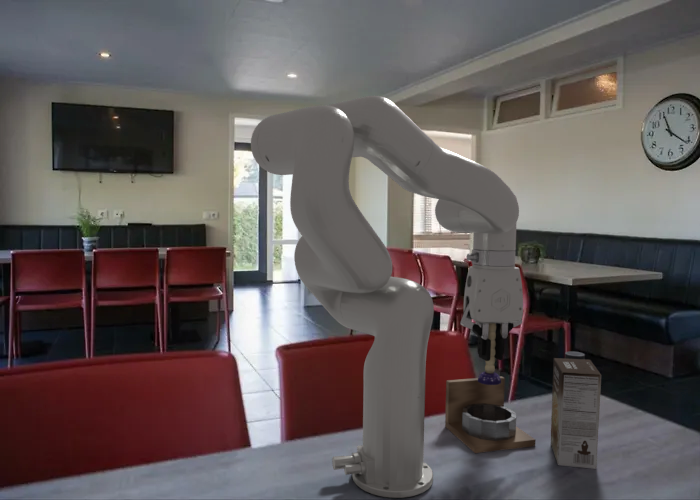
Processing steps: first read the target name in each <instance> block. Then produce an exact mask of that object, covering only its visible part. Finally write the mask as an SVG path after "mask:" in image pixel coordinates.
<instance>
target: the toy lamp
mask: <svg viewBox="0 0 700 500" xmlns="http://www.w3.org/2000/svg"><path fill="white" fill-rule="evenodd" d="M495 330H496V324H495V323H489V331H488V339H490V340H491V355H490V360H489V361H485V360H484V361H485V366H484V371H483V372H481V373H480V374H479V375H478V377H477V378H478V382H479V383H482V384H485V385H498V384H501V378H500V375H499V374H498V373H497V372H495V370H496V369H495V362H496V358H495V357H494V356H495V345H496V342H495V338H496V333H495Z"/></svg>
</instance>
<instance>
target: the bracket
mask: <svg viewBox="0 0 700 500" xmlns="http://www.w3.org/2000/svg"><path fill="white" fill-rule="evenodd" d="M499 376H500V375H499ZM500 378H501V384H498V385H485V384H482V383H479V382H478V377H475V378H462V379H448V380H446V382H445V421H444V423H445V425H444V427H445V428H446V429H447V430H448V431H450V432H451V434H453V435H454V436H455V437H456V438H457V439H459V441H460V442H461V443H463V444H464V445H466V447H467V448H468V449H469V450H471V451H472V452H473V453H474V454H478V453H479V454H480V453H488V452H495V451H503V450H504V451H505V450H512V449H514V450H516V449H523V448H530V447H536V439H535V438H534V437H532V436H531V435H530V434H528V433H527V432H525V431H524V430H522V429H521V428H519V427H518V426H516V436H514V437H512V438H510V439H509V440H500V441H492V440H483V439H479V438H476V437H473V436H470V435H468V434H467V433H466V432H464V431H463V430H462V414H463V408H464V407H466V406H468V405H470V404H480V403H485V404H496V405H499V406H503V407H505V382H506V377H504V376H500Z"/></svg>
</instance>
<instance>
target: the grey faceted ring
mask: <svg viewBox="0 0 700 500" xmlns="http://www.w3.org/2000/svg"><path fill="white" fill-rule="evenodd" d="M516 427H517V413H516V412H515V411H514V410H513V409H510V408H509V407H506V406H504V407H503V406H499V405H496V404H485V403H480V404H470V405H468V406H466V407H464V408H463V414H462V430H463V431H464V432H466V433H467V434H468V435H470V436H473V437H476V438H479V439H483V440H492V441H500V440H509V439H510V438H512V437H514V436H516Z"/></svg>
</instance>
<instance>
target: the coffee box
mask: <svg viewBox="0 0 700 500" xmlns="http://www.w3.org/2000/svg"><path fill="white" fill-rule="evenodd" d="M552 370H553V371H552V393H551V395H552V396H551V397H552V398H551V419H550V421H551V423H550V444H551V445H550V446H551V448H552V451H553V454H554V457H555V460H556V464H557V465H558V466H561V467H562V466H563V467H572V468H586V469H593V470H594V469H596V470H597V466H598V463H597V462H598V446H599V445H598V443H599V442H598V441H599V423H600V406H601V391H602V389H601V387H602V386H601V385H602V374H601V373H600V371H599V370H598V368H597V367H596V366H595V364H594V363H593V361H592V360H591V359H586V358H585V359H565V357H564V358H561V357H560V358H559V357H553V369H552Z"/></svg>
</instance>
